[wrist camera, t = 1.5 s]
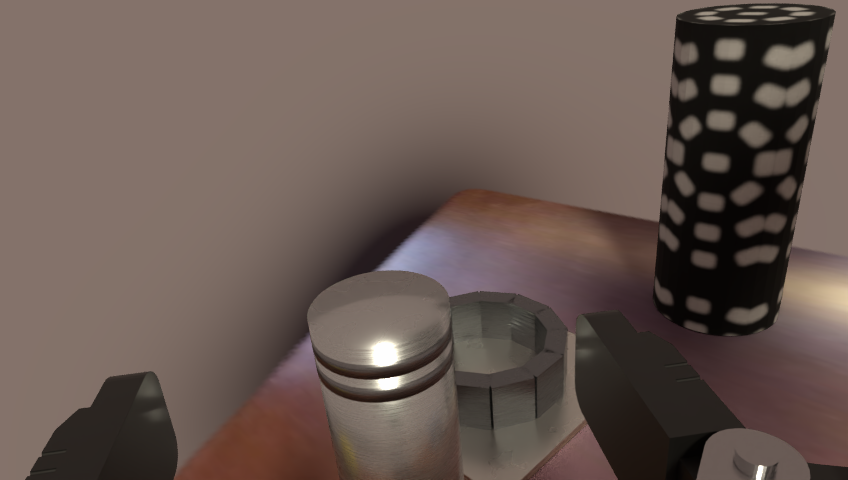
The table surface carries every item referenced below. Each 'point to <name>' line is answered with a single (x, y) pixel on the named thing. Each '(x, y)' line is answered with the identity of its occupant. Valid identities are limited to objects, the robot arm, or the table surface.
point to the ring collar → (512, 384)
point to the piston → (388, 376)
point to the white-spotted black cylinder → (736, 160)
